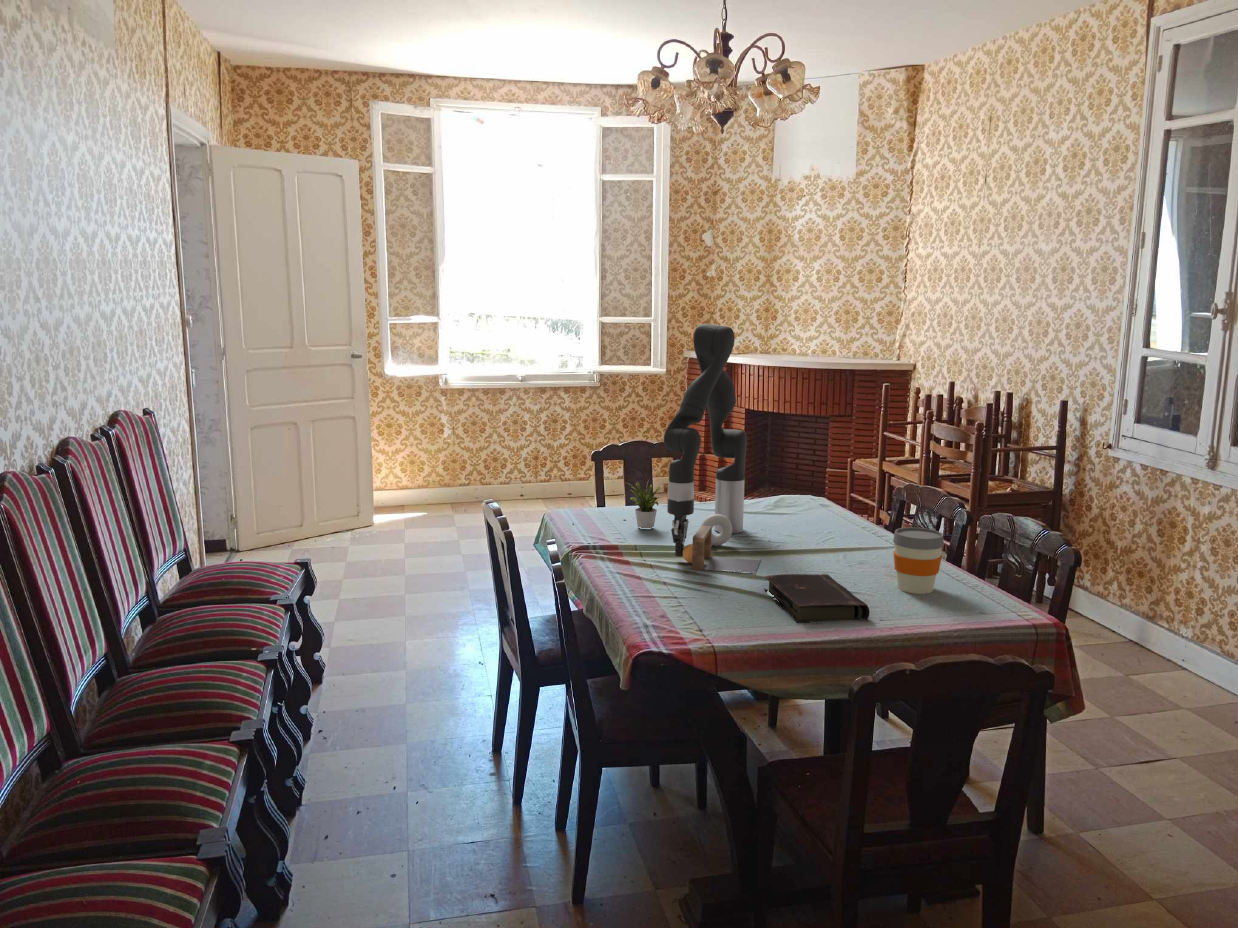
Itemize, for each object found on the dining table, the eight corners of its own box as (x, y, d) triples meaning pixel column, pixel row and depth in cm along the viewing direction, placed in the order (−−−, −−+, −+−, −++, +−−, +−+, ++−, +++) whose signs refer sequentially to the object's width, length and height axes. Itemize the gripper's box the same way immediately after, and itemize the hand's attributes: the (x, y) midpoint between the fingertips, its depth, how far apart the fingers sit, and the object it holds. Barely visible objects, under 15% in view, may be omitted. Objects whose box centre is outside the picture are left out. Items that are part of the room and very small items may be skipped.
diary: (829, 591, 245) (830, 572, 244) (869, 623, 220) (870, 603, 219) (760, 592, 242) (761, 574, 241) (793, 625, 217) (794, 605, 216)
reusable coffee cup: (907, 597, 237) (911, 540, 234) (881, 583, 249) (884, 528, 246) (950, 593, 240) (954, 537, 238) (922, 579, 252) (926, 525, 250)
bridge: (691, 569, 260) (692, 537, 259) (700, 555, 274) (701, 525, 272) (702, 570, 259) (703, 538, 258) (710, 556, 273) (711, 526, 272)
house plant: (614, 531, 302) (615, 481, 299) (626, 521, 315) (627, 474, 312) (657, 534, 298) (658, 484, 295) (667, 525, 311) (668, 477, 308)
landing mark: (712, 557, 273) (712, 556, 273) (760, 560, 269) (760, 560, 269) (704, 570, 260) (704, 569, 260) (755, 574, 256) (755, 573, 256)
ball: (690, 537, 268) (707, 546, 267) (683, 553, 270) (700, 562, 269) (684, 544, 263) (701, 553, 262) (677, 560, 266) (694, 569, 264)
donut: (701, 547, 283) (702, 515, 281) (698, 544, 286) (699, 513, 285) (733, 546, 285) (734, 514, 283) (730, 543, 288) (731, 512, 286)
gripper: (672, 491, 272) (671, 549, 275) (662, 500, 260) (661, 560, 263) (698, 493, 270) (696, 551, 273) (689, 502, 258) (687, 563, 261)
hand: (679, 555), depth 268 cm, fingers closed
